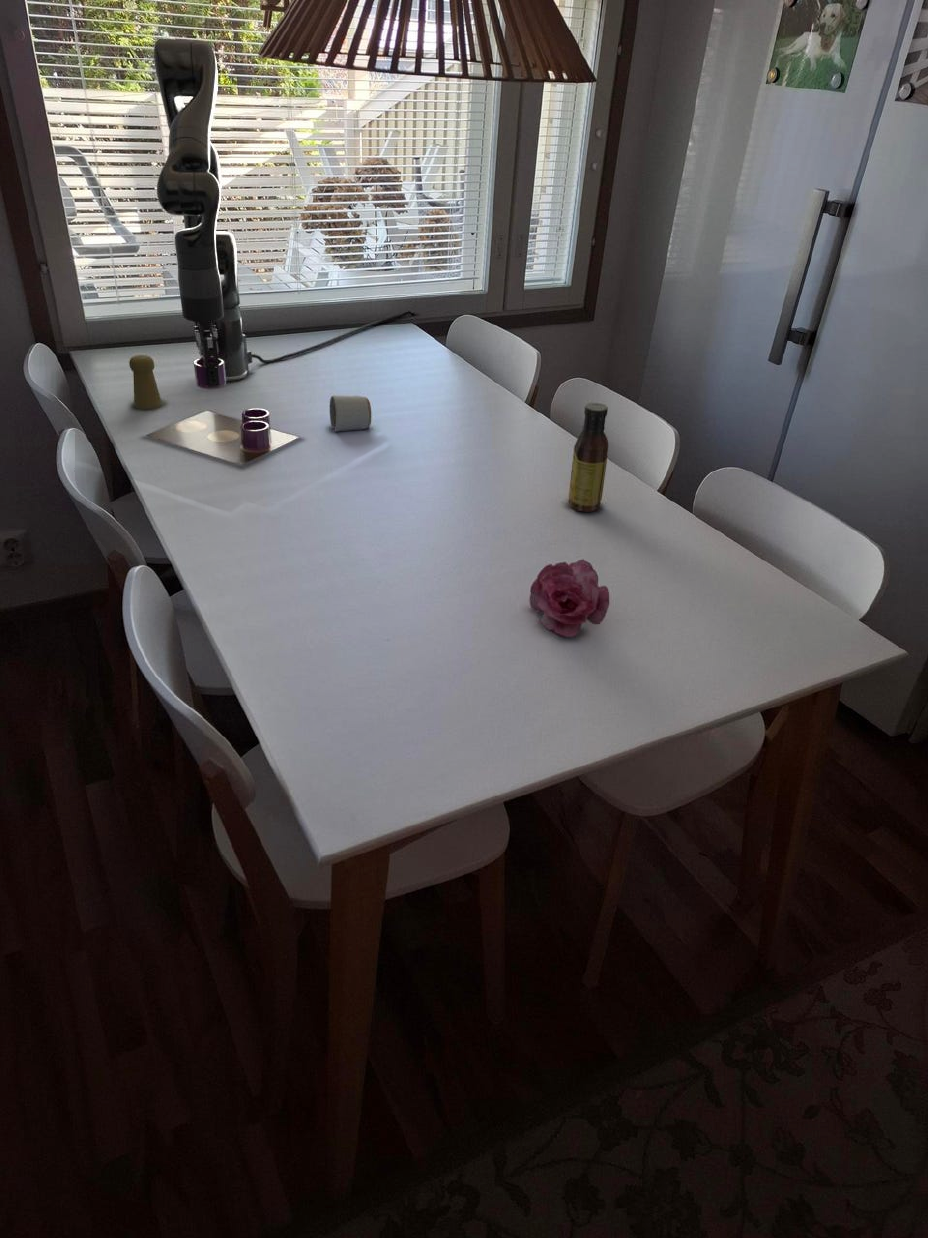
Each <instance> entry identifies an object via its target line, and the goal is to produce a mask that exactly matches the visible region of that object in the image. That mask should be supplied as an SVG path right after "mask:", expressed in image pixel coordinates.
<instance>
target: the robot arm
mask: <svg viewBox="0 0 928 1238" xmlns="http://www.w3.org/2000/svg"><path fill="white" fill-rule="evenodd" d="M153 63H154V70H155V74H156V75H155V76H156V79H157V84H158V88H159V93H160V97H161V101H162V106H163V110H164V114H165V117H166V123H167V128H168V154H167V157H166V160H165V163H164V165H162V169H161V170H160V173H159V175H158V178H157V179H158V180H157V184H156V197H157V201H158V203H159V205H160V207H161V208H162V209H163V210H164V211H165V213H168V214H169V215H172V216H183V224H184V229H181V230H178V231H177V232H176V233H175V234H174V248H175V255H176V262H177V263H176V264H177V283H178V289H179V297H180V305H181V313H182V317H183V319H185V320H186V321H189V322H192V323H194V326H193V327H192V328H193V333H194V334H193V335H194V336H195V343H196V347H197V349H198V354H199V356H200V358H203V360H204V363H203V365H204V367H205V372H206V381H207V385H208V386H209V387H216V386H218V385H219V379H218V370H217V367H219V362H218V358H219V359H222V360H223V361H224V363H225V373H226V382H232V381H239V380H243V379H245V378H246V377H247V376H248V375H249V374H250V368H249V367H250V366H249V364H253V358H255V359H257V360H258V361H259V362H261V363H263V364H273V363H277V362H280V361H282V360H285V359H289V358H292V357H296V356H298V355H302V354H304V353H307V352H311V351H314V350H315V349H318V348H321V347H324V346H326V345H328V344H331V343H333V342H336V341H338V340H341V339H343V338H345V337H347V336H350V335H352V334H356V333H357V332H359V331H362V330H364V329H365V330H366V329H368V328H371V327H373V326H376V325H379V324H382V323H385V322H389V321H393V320H396V319H400V318H403V317H405V316H407V315H411V316H413V317H415V316H416V313H414V312H413V313H411V312H410V311H411V310H408V312H407V311H405V312H403V313H401V314H398V315H393V316H390V317H386V318H382V319H379V320H377V321H373V322H371V323H367V324H365V325H363V326H360V327H358V328H357V327H356V328H354V329H352V330H350V331H347V332H344V333H343V334H340V335H338V336H335V337H333V338H330V339H328V340H326V341H323V342H321V343H318V344H315V345H312V346H310V347H307V348H304V349H301V350H298V351H295V352H292V353H287V354H284V355H281V356H278V357H276V358H274V359H264V358H263V357H261V355H259V354H257V353H256V354H255V353H252V351H251V350H248V347H247V345H248V344H247V335H245V334H244V333H243V332H244V331H243V321H242V320H243V319H242V312H241V311H242V310H241V301H240V300H241V299H240V292H239V291H240V289H239V280H238V278H239V277H238V255H237V254H238V251H237V245H236V240H235V237H234V235H233V234H232V233H231V232H229V231H217V223H218V221H217V220H218V217H219V210H220V205H221V199H222V198H221V197H222V191H221V190H222V187H223V186H222V184H223V182H222V173H221V165H220V157H219V154H218V151H217V150H216V147H214V144H213V143H212V142H211V128H212V123H213V118H214V113H215V108H216V101H217V95H218V87H219V86H218V85H219V82H218V79H219V75H218V65H217V58H216V55H215V51H214V49H213V46H212V45H211V44H210V43H209V42H206V41H203V40H198V39H197V40H196V39H187V38H186V39H185V38H184V39H183V38H171V37H163V38H159V39H157V40H156V41H155V43H154V47H153ZM182 98H191V99H190V100H189V101H188V103H186V105H184V102H183V100H182ZM221 275H222V276H223V279H221ZM207 357H208V358H209V357H211V358H214V361H208V360H207Z"/></svg>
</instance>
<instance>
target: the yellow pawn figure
mask: <svg viewBox="0 0 928 1238" xmlns="http://www.w3.org/2000/svg"><path fill="white" fill-rule="evenodd" d="M128 364H129V368H130V370H131V372H132V373H133V374H132V375H133V406H134V408H135V409H138V410H155V409H158V408H160V407H162V406H163V401H162V398H161V395H160V392H159V388H158V385H157V381H156V377H155V374H154V369H155V361H154V359H153V358H152V357H151V356H150V355H147V354H138V355H137V354H136V355H133V356H132V357H131V358H130V359H129V361H128Z"/></svg>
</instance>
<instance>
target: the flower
mask: <svg viewBox="0 0 928 1238" xmlns="http://www.w3.org/2000/svg"><path fill="white" fill-rule="evenodd" d="M529 591H530V594H529V606H530V608H531V609H532V610H533V611H536V612H539V613H543V614H542V619H541V623H542V625H543V626H544V628H546V629H547V630H549V631H550V630H551V631H554V633H556V634H558V635H560V636H563V637H565V638H568V639H569V638H574V637H575V636H577V635H578V634H579V633H580V631H581V627H582V625H583V624H585V623H587V621H588V622H590V623H591V624H592V625H601V623H602V622H603V621H604V620H605V618H606V615H607V613H608V610H609V606H610V592H609V587H607V585H601V586H599V575H598V573H597V571H596V570H595V569H594V567H593V565H592V564H591V562H590V561H587V560H585V559H580V560H577V561H574V562H570V563H567V562H566V561H560V562H557V563H555V564H554V565H553V564H552V563H549V564H546V565H545V566H544V567H543V568H542V569H541V570H540V571H539V573H538V574H537V576H536V579H535V580H533V583H532V584H531V586H530V590H529Z"/></svg>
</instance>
